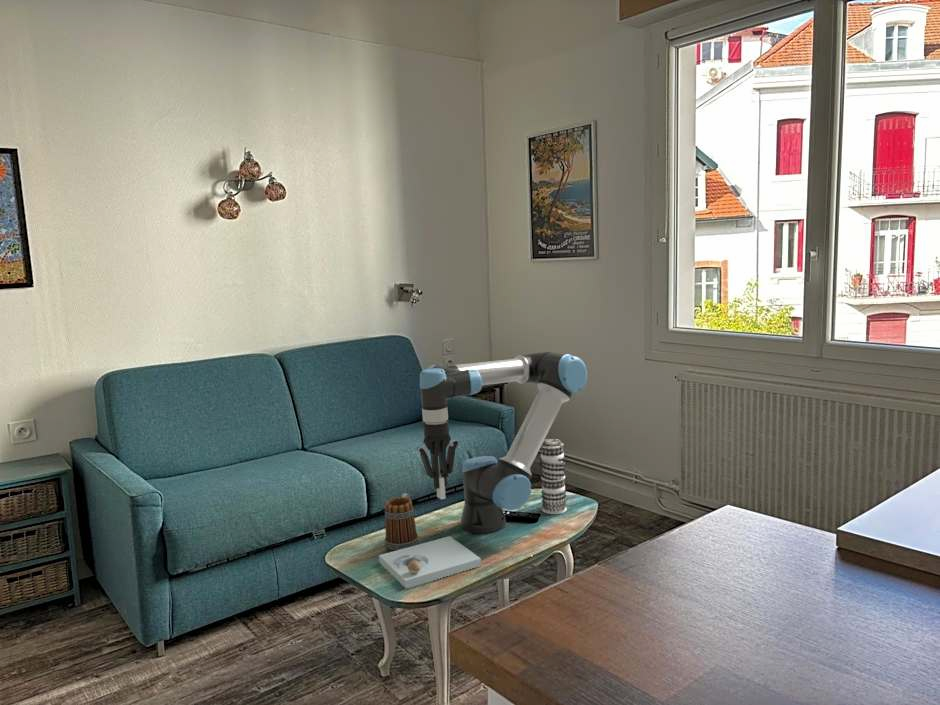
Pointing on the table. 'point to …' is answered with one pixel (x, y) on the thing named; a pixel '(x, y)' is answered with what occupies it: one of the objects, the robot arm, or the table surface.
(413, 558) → the ball
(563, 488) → the decorative candle
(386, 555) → the white slab
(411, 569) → the cork ball
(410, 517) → the mug
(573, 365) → the robot arm
